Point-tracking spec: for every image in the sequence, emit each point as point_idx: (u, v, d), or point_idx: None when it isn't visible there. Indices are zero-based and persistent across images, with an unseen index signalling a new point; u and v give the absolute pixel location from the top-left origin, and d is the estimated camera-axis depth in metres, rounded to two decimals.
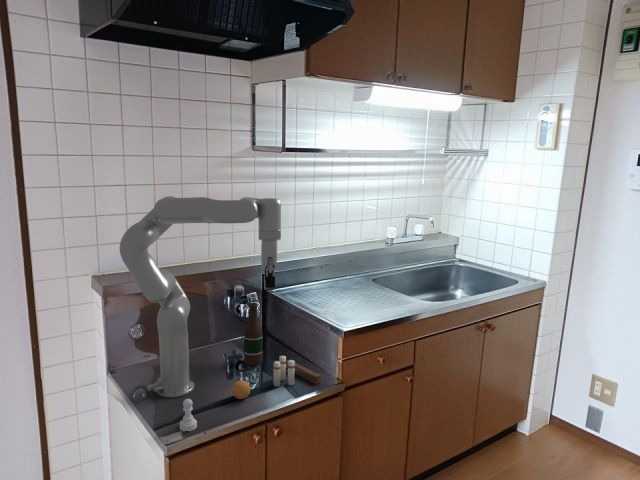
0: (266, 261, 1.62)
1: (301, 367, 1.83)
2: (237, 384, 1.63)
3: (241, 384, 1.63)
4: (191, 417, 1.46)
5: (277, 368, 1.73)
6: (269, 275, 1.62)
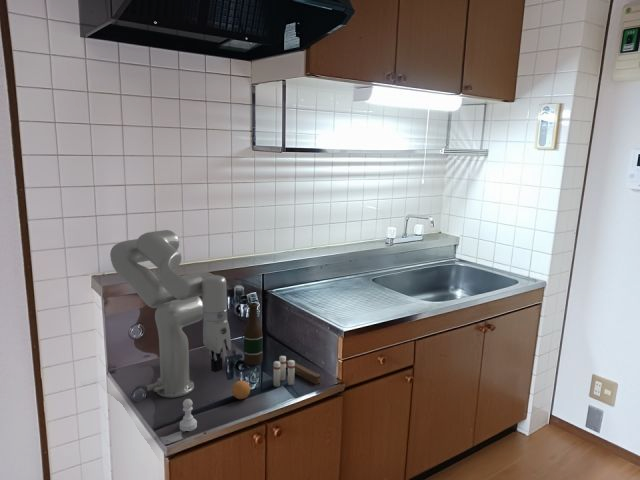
0: None
1: (301, 367, 1.83)
2: (237, 384, 1.63)
3: (241, 384, 1.63)
4: (191, 417, 1.46)
5: (277, 368, 1.73)
6: None
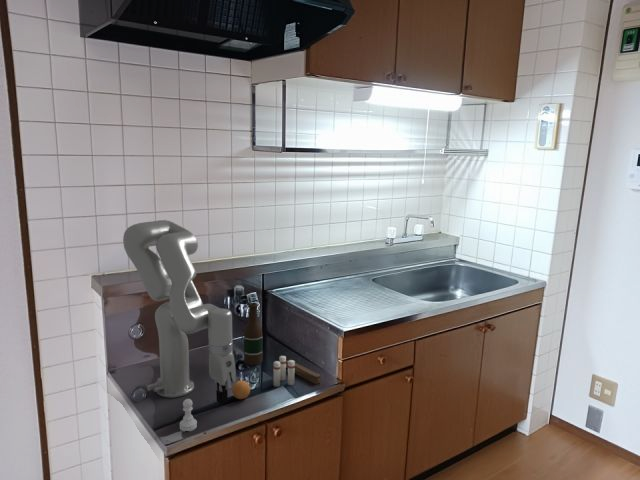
0: None
1: (301, 367, 1.83)
2: (237, 384, 1.63)
3: (241, 384, 1.63)
4: (191, 417, 1.46)
5: (277, 368, 1.73)
6: None
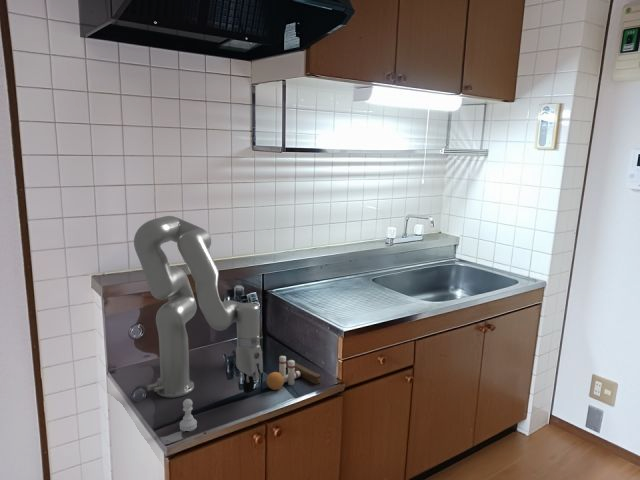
0: None
1: (301, 367, 1.83)
2: None
3: None
4: (191, 417, 1.46)
5: (297, 374, 1.80)
6: None
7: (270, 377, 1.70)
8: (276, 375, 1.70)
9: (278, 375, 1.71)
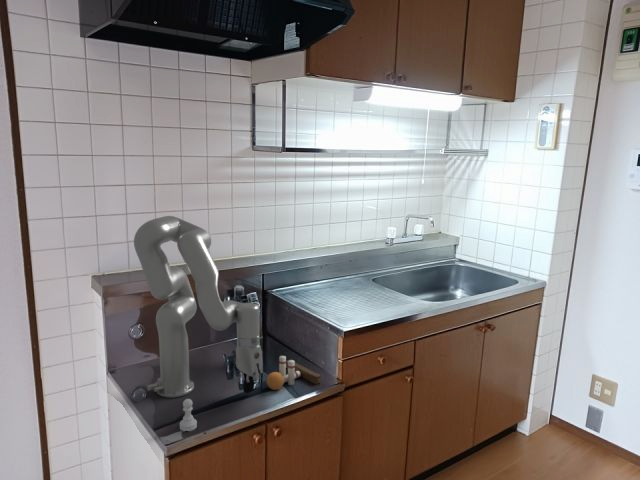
0: None
1: (301, 367, 1.83)
2: None
3: None
4: (191, 417, 1.46)
5: (297, 374, 1.80)
6: None
7: (270, 377, 1.70)
8: (276, 375, 1.70)
9: (278, 375, 1.71)
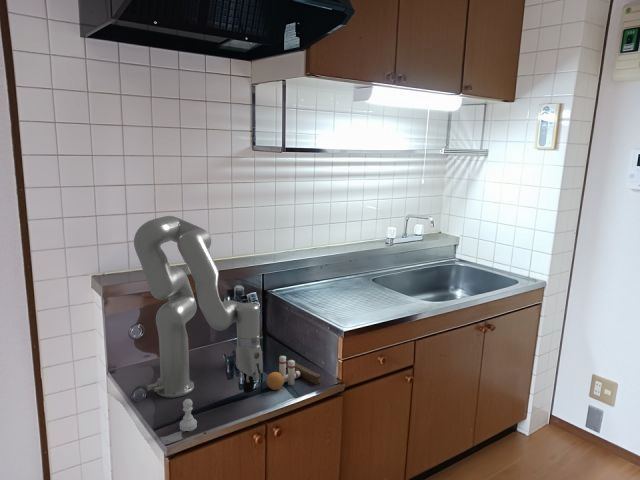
0: None
1: (301, 367, 1.83)
2: None
3: None
4: (191, 417, 1.46)
5: (296, 374, 1.80)
6: None
7: (270, 377, 1.70)
8: (276, 375, 1.70)
9: (278, 375, 1.71)
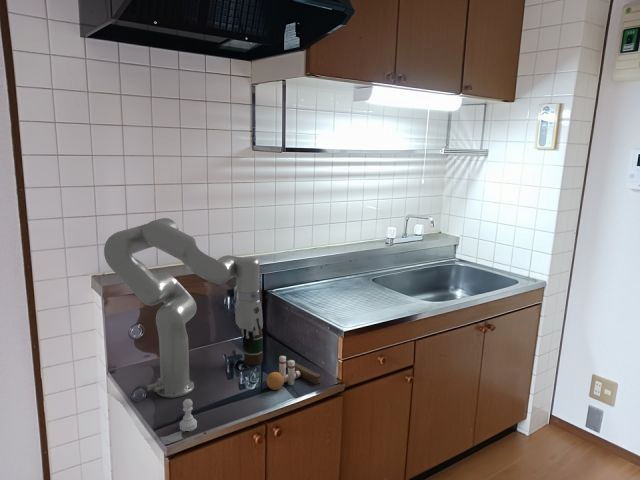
0: None
1: (301, 367, 1.83)
2: None
3: None
4: (191, 417, 1.46)
5: (296, 374, 1.80)
6: None
7: (270, 377, 1.70)
8: (276, 375, 1.70)
9: (278, 375, 1.71)
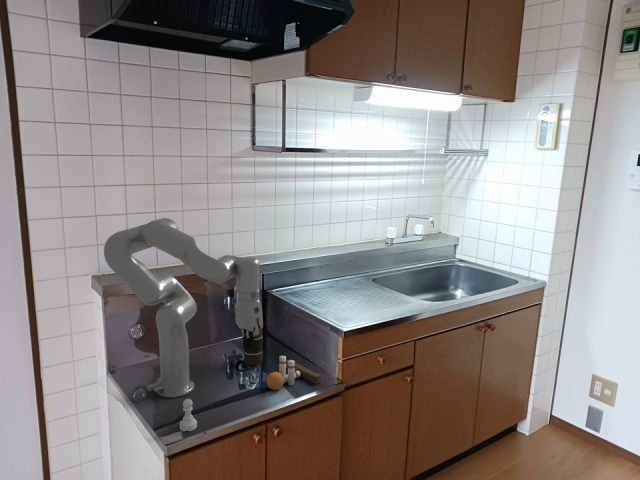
0: None
1: (301, 367, 1.83)
2: None
3: None
4: (191, 417, 1.46)
5: (297, 374, 1.80)
6: None
7: (270, 377, 1.70)
8: (276, 375, 1.70)
9: (278, 375, 1.71)
